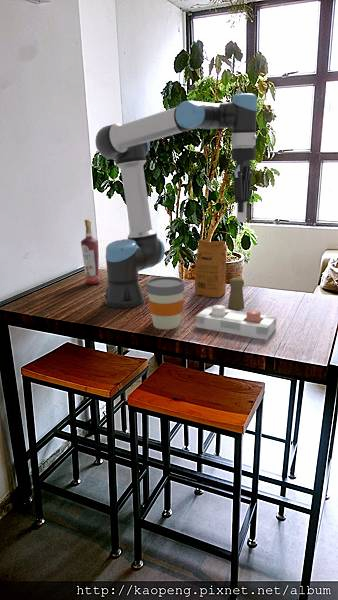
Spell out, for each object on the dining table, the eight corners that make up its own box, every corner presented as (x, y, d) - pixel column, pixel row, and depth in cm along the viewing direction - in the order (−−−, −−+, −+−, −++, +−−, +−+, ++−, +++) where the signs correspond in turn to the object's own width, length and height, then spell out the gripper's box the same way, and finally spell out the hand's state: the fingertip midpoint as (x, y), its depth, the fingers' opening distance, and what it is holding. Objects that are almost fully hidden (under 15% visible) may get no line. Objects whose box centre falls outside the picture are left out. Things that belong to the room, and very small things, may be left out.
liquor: (104, 282, 202) (100, 219, 192) (94, 286, 196) (88, 221, 187) (92, 280, 205) (86, 218, 196) (81, 284, 199) (75, 220, 190)
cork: (244, 310, 164) (244, 280, 160) (227, 309, 165) (227, 280, 162) (244, 304, 169) (245, 276, 166) (228, 303, 171) (229, 275, 167)
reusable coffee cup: (182, 332, 146) (181, 288, 141) (144, 330, 148) (142, 286, 143) (187, 318, 158) (186, 276, 153) (152, 316, 160) (150, 276, 155)
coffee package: (201, 288, 190) (201, 236, 182) (229, 292, 184) (230, 238, 176) (190, 295, 181) (190, 241, 174) (218, 299, 175) (219, 243, 168)
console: (195, 327, 150) (195, 315, 149) (208, 317, 158) (208, 306, 157) (266, 339, 139) (267, 327, 137) (275, 328, 147) (276, 317, 146)
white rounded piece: (209, 320, 150) (209, 308, 148) (215, 316, 153) (215, 304, 152) (222, 322, 148) (222, 310, 146) (227, 318, 151) (227, 306, 150)
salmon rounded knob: (244, 326, 144) (244, 313, 143) (248, 322, 148) (249, 309, 146) (257, 329, 142) (258, 315, 141) (262, 324, 146) (262, 311, 144)
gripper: (247, 147, 136) (245, 225, 144) (261, 146, 147) (258, 219, 155) (224, 147, 140) (223, 224, 148) (239, 147, 151) (237, 218, 158)
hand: (241, 221), depth 151 cm, fingers closed
